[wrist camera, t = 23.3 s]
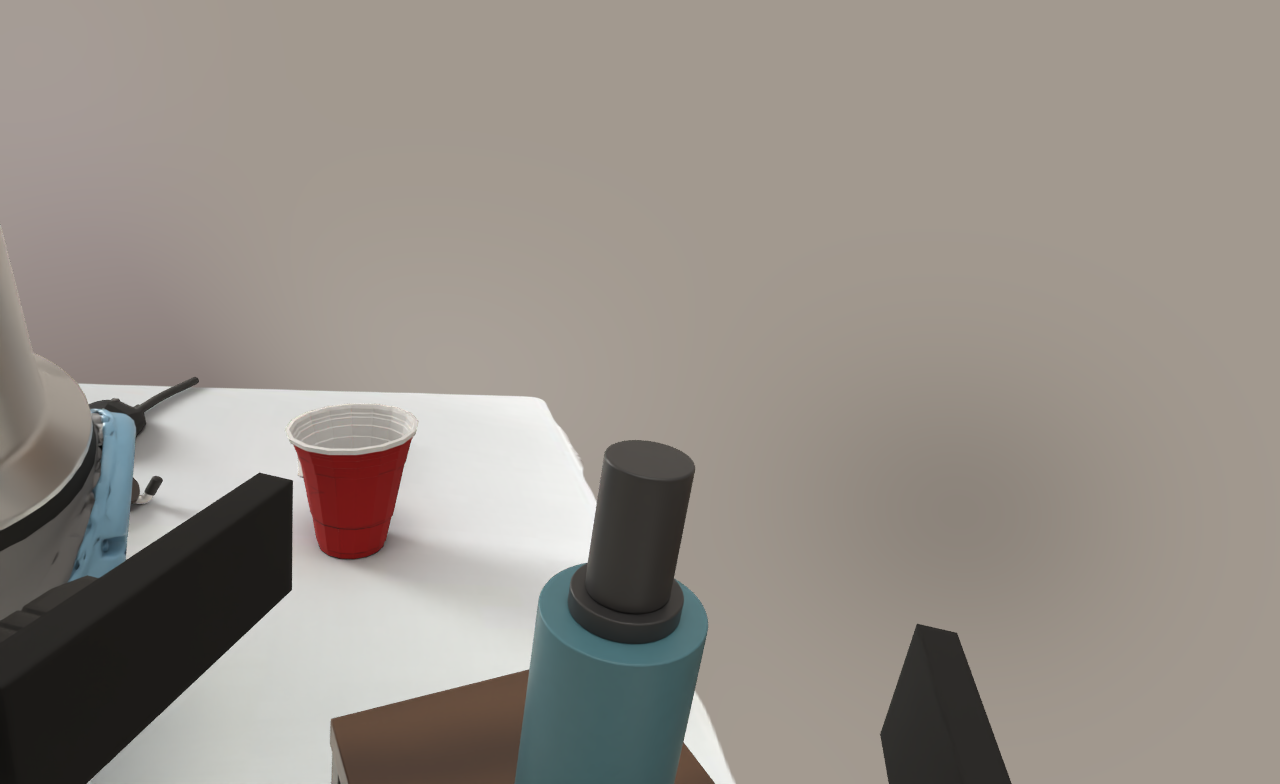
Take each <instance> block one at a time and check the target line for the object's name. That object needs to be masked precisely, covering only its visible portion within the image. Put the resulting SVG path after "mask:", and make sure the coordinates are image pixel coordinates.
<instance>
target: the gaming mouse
mask: <svg viewBox="0 0 1280 784" xmlns="http://www.w3.org/2000/svg"><path fill="white" fill-rule="evenodd" d="M138 406H140V405H139V404H138V405H136V406H134V407H131V406H129V405H127V404H125V403H123V402H120V400H119V399H115V398H113V399H112V400H102V401H97V402H94V403H91V404H89V407H90V410H91V409H103V408H104V409H106V410H108V411H109V412H114V413H123V414H126V415H128V416H129V417H130V418H131V419H132V420H134V424H135V427H136V435H137V434H138V433H139V432H140V431H141V430H142V429H143V427H144V426H145V425H146V420H145V416H144V413H143V412H142V411H140V410H138V409H136V408H137V407H138Z"/></svg>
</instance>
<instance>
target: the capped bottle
mask: <svg viewBox="0 0 1280 784" xmlns="http://www.w3.org/2000/svg"><path fill="white" fill-rule="evenodd" d="M694 473H695V465H694V462H693V461H692V460H691V458H690V457H689V456H688V455H686V454H685V453H683V452H682V451H680V450H678V449H676V448H673V447H670V446H667V445H664V444H660V443H656V442H651V441H641V440H629V441H622V442H618V443H615V444H613V445H611V446H609V447H608V448H607V450H606V451H605V454H604V460H603V467H602V473H601V480H600V486H599V493H598V500H597V506H596V512H595V519H594V525H593V532H592V539H591V545H590V552H589V558H588V563H584V564H579V565H576V566H573V567H570V568H567V569H565V570H563V571H561V572H559V573H558V574H556V575H555V576H554V577H552V578H551V579H550V580H549V581H548V582H547V583H546V585H545V586H544V588H543V589H542V591H541V593H540V596H539V601H538V609H537V616H536V624H535V632H534V639H533V647H532V655H531V662H530V670H529V677H528V685H527V693H526V700H525V708H524V716H523V723H522V731H521V739H520V746H519V754H518V761H517V769H516V777H515V784H674V782H675V777H676V773H677V768H678V764H679V759H680V755H681V750H682V745H683V741H684V736H685V732H686V727H687V723H688V718H689V713H690V709H691V704H692V700H693V695H694V691H695V686H696V681H697V677H698V672H699V668H700V663H701V659H702V654H703V649H704V645H705V640H706V636H707V631H708V619H707V615H706V611H705V609H704V607H703V605H702V603H701V602H700V600H699V599H698V598H697V597H696V595H695V594H694V593H693V592H692V591H691V590H689V589H688V588H687V587H686V586H684V585H683V584H682V583H680V582H679V581H677V580H676V579H674V574H675V569H676V564H677V559H678V554H679V548H680V544H681V539H682V534H683V529H684V523H685V518H686V513H687V508H688V503H689V498H690V493H691V487H692V482H693V478H694Z"/></svg>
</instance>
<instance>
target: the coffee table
mask: <svg viewBox="0 0 1280 784" xmlns="http://www.w3.org/2000/svg"><path fill="white" fill-rule="evenodd" d="M529 670H530V669H529ZM529 670H525V671H521V672H517V673H513V674H509V675H505V676H501V677H497V678H493V679H489V680H485V681H481V682H477V683H473V684H469V685H465V686H461V687H457V688H453V689H449V690H445V691H441V692H437V693H433V694H429V695H425V696H421V697H417V698H413V699H409V700H405V701H401V702H397V703H393V704H389V705H385V706H381V707H377V708H373V709H369V710H365V711H361V712H357V713H353V714H349V715H345V716H341V717H337V718H333V719H331V726H330V745H331V749H332V779H331V784H515V777H516V769H517V761H518V754H519V746H520V739H521V731H522V723H523V716H524V708H525V700H526V693H527V685H528V677H529ZM674 784H715V783H714V782H713V780H712V779H711V778H710V776H709V775H708V774H707V772H706V771H705V770H704V769H703V767H702V766H701V765H700V763H699V762H698V761H697V759H696V758H695V757H694V755H693V754H692V753H691V752H690V750H689V749H688V748H687V746H686V745H685V744H684V742H683V745H682V750H681V755H680V759H679V764H678V768H677V773H676V777H675V782H674Z"/></svg>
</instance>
